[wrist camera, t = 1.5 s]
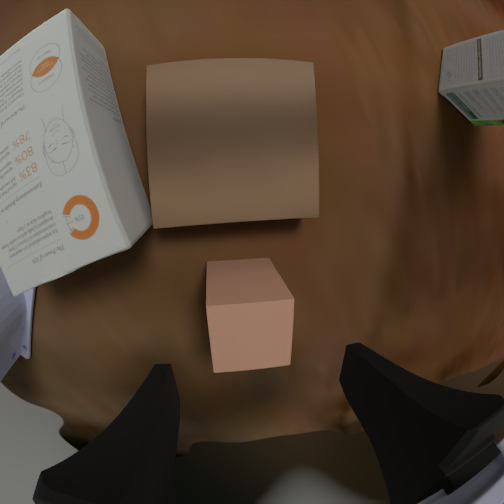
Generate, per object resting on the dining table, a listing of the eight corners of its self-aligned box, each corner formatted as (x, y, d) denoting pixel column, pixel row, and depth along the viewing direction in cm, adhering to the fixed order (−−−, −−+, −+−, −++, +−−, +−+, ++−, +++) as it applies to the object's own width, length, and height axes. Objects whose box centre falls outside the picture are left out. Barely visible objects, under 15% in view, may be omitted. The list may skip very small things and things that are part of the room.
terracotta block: (268, 311, 19) (290, 364, 14) (211, 315, 19) (213, 372, 13) (268, 257, 18) (294, 298, 13) (207, 261, 18) (206, 306, 12)
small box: (17, 101, 12) (60, 262, 16) (-37, 89, 6) (12, 301, 10) (107, 45, 12) (158, 222, 16) (70, 3, 6) (130, 251, 10)
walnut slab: (302, 208, 18) (318, 217, 15) (162, 218, 17) (153, 228, 14) (297, 76, 15) (313, 62, 12) (156, 81, 14) (146, 65, 11)
